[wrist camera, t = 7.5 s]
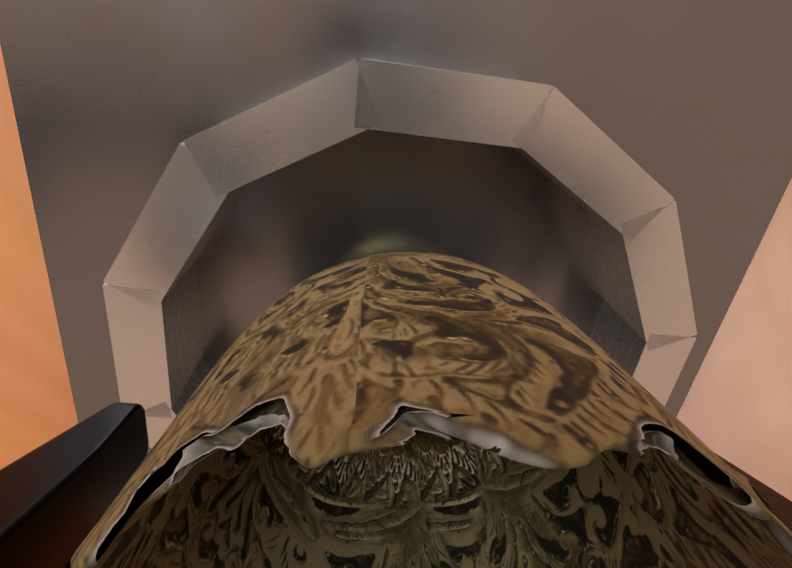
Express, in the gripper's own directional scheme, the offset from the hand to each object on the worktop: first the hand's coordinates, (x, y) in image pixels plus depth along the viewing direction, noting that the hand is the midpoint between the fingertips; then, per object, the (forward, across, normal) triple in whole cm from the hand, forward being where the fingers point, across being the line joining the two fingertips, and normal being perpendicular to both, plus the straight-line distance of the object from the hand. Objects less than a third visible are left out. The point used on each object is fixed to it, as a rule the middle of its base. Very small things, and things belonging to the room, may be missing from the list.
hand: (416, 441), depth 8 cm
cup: (+4, 0, 0) cm, 4 cm away
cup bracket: (+5, 0, 0) cm, 5 cm away
